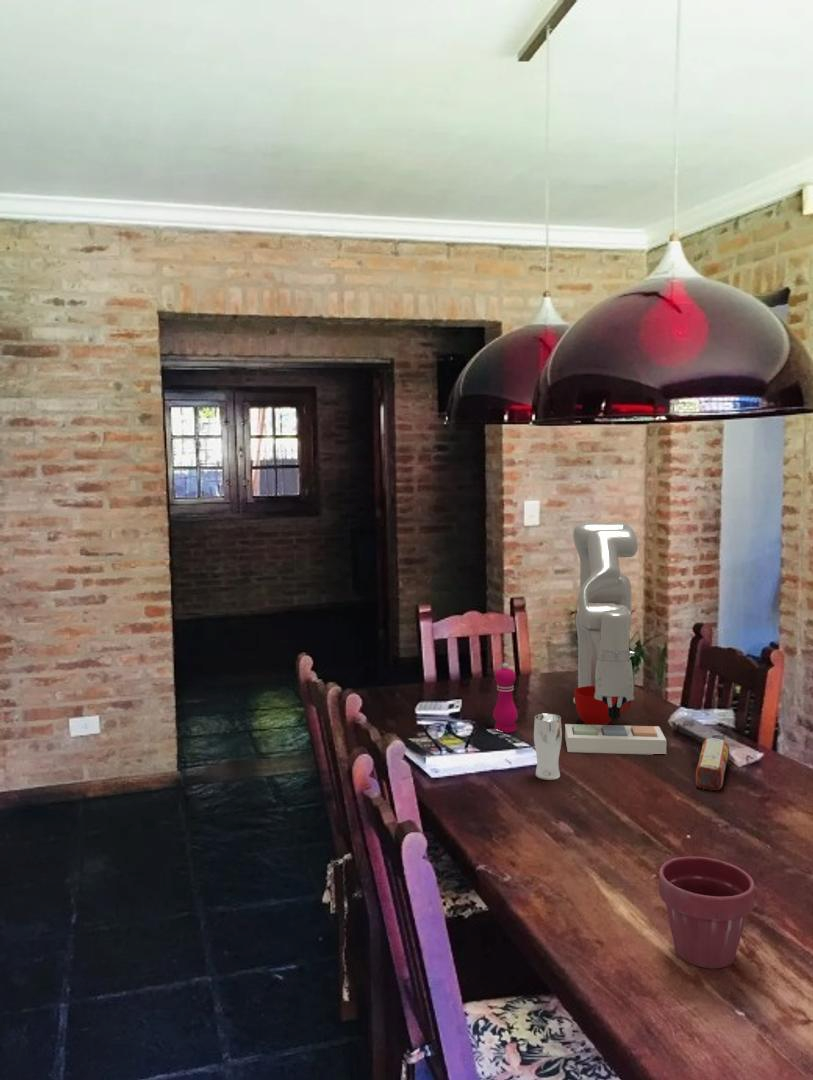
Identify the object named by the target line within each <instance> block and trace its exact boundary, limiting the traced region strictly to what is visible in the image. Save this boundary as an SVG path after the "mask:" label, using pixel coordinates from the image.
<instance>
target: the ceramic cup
mask: <svg viewBox="0 0 813 1080" xmlns="http://www.w3.org/2000/svg"><path fill="white" fill-rule="evenodd" d="M595 691H596V690H595V686H584V687H579V688H578V687H577V688H575V689H574V694H573V695H574V697H575V703H574V705H575V709H576V712H577V714H578V716H579V718H580V719H581V720H582V722H583V724H584V725H609V724H610V722H611V719H610V718H609V717H608V705H607V704H606V703H605V702H604V701H602V700H597V699H595V697H594V695H595ZM611 699H612V703H613V706H614V704H615V703H616V697H611ZM632 701H633V700H630V701H628V703H627V704H626V706H624V707H623V708H620V713H622V712H623V713H624V712H625V711H626V710H628V709H629V708H630V707H631V706H632Z"/></svg>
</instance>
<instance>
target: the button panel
mask: <svg viewBox="0 0 813 1080" xmlns="http://www.w3.org/2000/svg"><path fill="white" fill-rule="evenodd" d="M577 725H579V724H577ZM617 726H620V725H617ZM623 726H624V727H625V729H626V732H627V736H604V735H603V733H602V725H595V728H596V731H597V735H573V723H572V724H571V723H564V739H565V743H566V744H565V746H566V750H567V752H568V753H585V754H586V753H589V754H621V755H622V754H624V755H625V754H626V755H627V754H628V755H653V754H666V755H667V739H666V737H665V735H664V733H663V731H662V729H661V727H660V726H659V725H658V726H657V725H655V726H653V725H652V726H653V727H654V728H655V730H656V732H657V737H642V736H633V735H632V732H631V726H632V725H623Z"/></svg>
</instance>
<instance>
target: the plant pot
mask: <svg viewBox="0 0 813 1080" xmlns="http://www.w3.org/2000/svg"><path fill="white" fill-rule="evenodd" d="M658 872H659V873H658V874H659V875H658V893H659V896H660V898H661V899H662V901H663V902H664V903H665V907H666V913H667V917H668V923H669V927H670V932H671V936H672V941H673V945H674V949H675V951H676V954H677V955H678V956H679V957H681V959H683V960H684V961H686V962H687V963H689V964H692V965H694V966H696V967H700V968H705V969H721V968H726V967H729V966H730V965H732V964H733V963H734V961H735V959H736V955H737V953H738V948H739V945H740V942H741V938H742V935H743V930H744V927H745V923H746V917H747V916H748V915H749V914H750V913H752V911H753V910H754V904H755V883H754V879H753V878H752V877H751V875H750V874H748V873H747V871H745V870H743V869H741V868H740V867H738V866H737V865H734V864H731V863H730V862H726V861H723V860H721V859H720V860H719V859H716V858H712V857H711V858H710V857H704V856H681V857H675V858H672V859H669V860H667V861H665V862H664V863H663V864H662V865H661V866H660V867H659V871H658Z"/></svg>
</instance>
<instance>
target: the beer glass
mask: <svg viewBox="0 0 813 1080" xmlns="http://www.w3.org/2000/svg"><path fill="white" fill-rule="evenodd" d="M562 727H563V725H562V717H561V716H560V715H559V714H558V715H557V714H554V713H540V714H539V713H538V714H536V715H535V716H534V724H533V742H534V747H535V753H536V768H535V769H536V770H535V777H537V778H538V779H540V780H546V781H553V780H558V779H559V778H560V777H561V773H560V772H561V771H560V767H559V759H560V752H561V747H562V739H563V729H562Z"/></svg>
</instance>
